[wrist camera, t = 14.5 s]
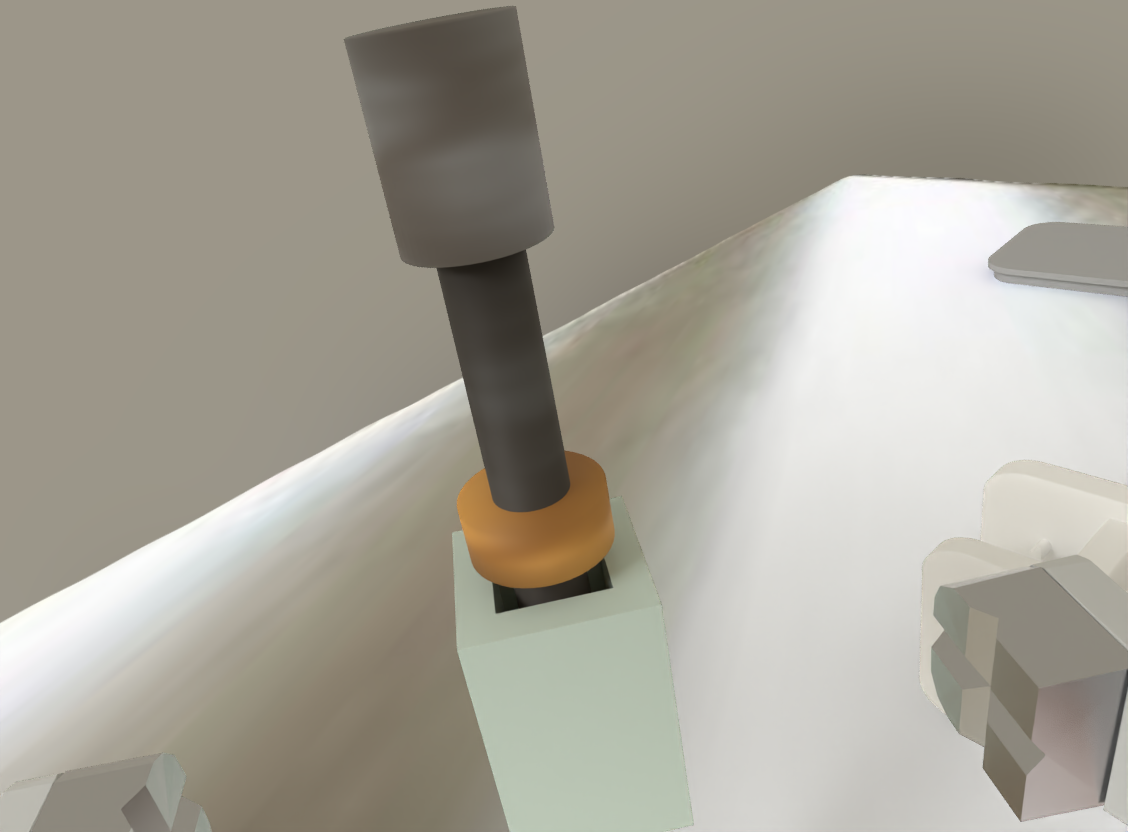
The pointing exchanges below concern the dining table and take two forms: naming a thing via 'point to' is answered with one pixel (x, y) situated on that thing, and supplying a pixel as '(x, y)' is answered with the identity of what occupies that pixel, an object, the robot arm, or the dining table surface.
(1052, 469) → the cable organizer
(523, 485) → the stand
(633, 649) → the sleeve
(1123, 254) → the tablet
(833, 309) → the dining table surface
